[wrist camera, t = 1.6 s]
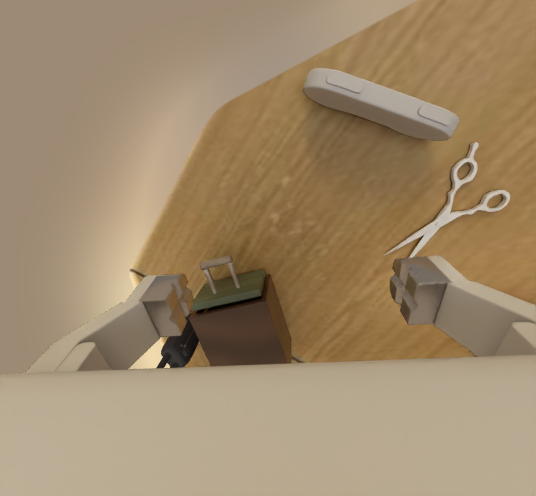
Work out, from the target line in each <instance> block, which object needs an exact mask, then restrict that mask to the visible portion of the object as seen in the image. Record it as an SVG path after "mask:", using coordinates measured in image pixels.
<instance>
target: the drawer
mask: <svg viewBox="0 0 536 496" xmlns="http://www.w3.org/2000/svg"><path fill="white" fill-rule="evenodd" d="M232 262H233V258H232V256H231V255H227V256H223V257H220V258H216V259H212V260H208V261H204V262H201V263H200V268H201V269H202V270H204V272H205V274H206V277H207V279H208V281H209V282H208V283H205V284H204V286H203V287H202V289H201V290H200V292H199V293H198V295H197V296H196V297H195V299H194V300H193V308H192V310H193V311H196V310H200V309H205V310H204V312H208V311H212V310H217V309H221V308H226V307H230V306H235V305H239V304H244V303H248V302H253V301H257V300H262V295H263V290H264V285H265V284H264V281H265V276H266V274H265V271H264V269H262V270H258V271H254V272H250V273H245V274H241V275H237V274H236V272H235V269H234V266H233V264H232ZM224 264H228V266H229V269H230V272H231V274H232V277H229V278H225V279H221V280H217V281H213V278H212V276H211V273H210V271H209V269H208V268H212V267H216V266H220V265H224Z"/></svg>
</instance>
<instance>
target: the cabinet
mask: <svg viewBox="0 0 536 496" xmlns="http://www.w3.org/2000/svg"><path fill="white" fill-rule="evenodd" d="M264 284H265V285H264V290H263V295H262V300H257V301H253V302H248V303H244V304H239V305H235V306H230V307H226V308H221V309H217V310H212V311H208V312H204V310H205V309H200V310H196V311H193V312H192V314H191V315H190V317H189V320H190V322H191V324H192V326H193V328H194V330H195V333H196V335H197V337H198V339H199V341H200V343H201V346H202V348H203V350H204V352H205V354H206V356H207V358H208V361H209V363H210V365H211V366H234V365H261V364H289V363H291V337H290V334H289V331H288V328H287V325H286V321H285V318H284V315H283V312H282V309H281V306H280V303H279V300H278V297H277V294H276V291H275V287H274V284H273V281H272V278H271V275H266V276H265V281H264Z"/></svg>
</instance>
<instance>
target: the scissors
mask: <svg viewBox="0 0 536 496" xmlns="http://www.w3.org/2000/svg"><path fill="white" fill-rule="evenodd" d="M478 145H479V143H477V142H475V143H472V144H471V145H470V149H469V152H468V154H467V157H466V158H465V159H462V160H460V161H458V162H457V163H456V164H455V165H454V167H453V168H452V170H451V180H452V182H453V184H452V189H451V190H450V191H449V192H448V194H447V195H448V201H447V204H446V205H445V206H444V208H443V209H442V210H441V211H440V213H439V214H438V216H437V217H436V219H435V220H434V221H433V222H431V223H430V224H428V225H427V226H425V227H423V228H422V229H420V230H419V231H417V232H416V233H414V234H413V235H411V236H410V237H408V238H407V239H406V240H404V241H403V242H402V243H400V244H399V245H397V246H396V247H394V248H393V249H391V250H390V251H389V252H388V253H390V252H392V251H394V250H396V249H398V248H400V247H402V246H404V245H406V244H407V243H409V242H411V241H413V240H415V239H417V238H419V237H421V236H423V235H424V234H425V235H424V237H423V238H422V239H421V241H420V242H419V244H418V245H417V246H416V248H415V249H414V251H413V252H412V254H411V255H410V257H409V258H413V257H414V255H415V254H416V253H417V252H418V251H419V250H420V249H421V248H422V247H423V246H424V245H425V244H426V243H427V242H428V240H429V239H430V238H431V237H432V236H433V235H434V234H435V233H436V231H437V230H438V229H439V228H440V227H441V226H443V225H445V224H447V223H448V222H450V221H452V220H453V219H455V218H457V217H459V216H461V215H463V214H472V213H474V212H475V211H477V210H484V211H488V212H492V211H497V210H500V209H502V208H503V207H504V206H506V204H507V203H508V202H509V199H510V194H509V193H508V192H507V191H503V190H494V191H491V192H488V193H487V194H485V195H483V198H482V200H481V202H480V204H479V205H476V206H475V207H473V208H472V209H469V210H464V211H453V212H451V207H452V202H453V197H454V194H455V192H456V190H457V189H458V188H459V187H460V186H461V185H462V184H463V183H466V182H469V181H472V179H473V178H474V176H475V175H476V171H477V163H476V161H475V160H474V159H473V157H474V153H475V150H476V149H477V147H478ZM465 162H468V163H469V164H470V165H471V170H470V172H469V174H468V175H467V176H466V177H465V178H464V179H461V180H459V179H458V177H457V171H458V169H459V168H460V167H461V166H462V165H463V164H464V163H465ZM497 194H501V195H502V196H503V200H502V202H501V203H500V204H499V205H498V206H497V207H495V208H488V207H487V202H488V200H489V199H490V198H492V197H493V196H495V195H497ZM388 253H386V254H388ZM386 254H385V255H386Z"/></svg>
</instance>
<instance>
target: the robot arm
mask: <svg viewBox="0 0 536 496" xmlns="http://www.w3.org/2000/svg"><path fill="white" fill-rule="evenodd" d="M392 269H393V270H394V272H395V274H394V275H393V276H392V277H391V278H390V292H391V295H392V298H393V300H394V301H395V302H396V303H397V304H399V305H401V309H400V312H401V313H402V315H403V317H404V318H405V320H406V322H407V323H408V325H416V324H434V326H436V327H437V328H438V329H440V330H441V331H443V332H444V333H446V334H447V335H448V336H450V337H451V338H453V339H454V340H455V341H457V342H458V343H460V344H461V345H462V346H464V347H465V348H467V349H468V350H469V351H471V352H472V353H474V354H475V355H476V356H478V357H455V358H427V359H400V360H372V361H345V362H317V363H289V364H261V365H234V366H208V367H182V368H154V369H128V368H130V367H131V366H132V365H133V364H134V363H135V362H136V361H137V360H138V359H139V358H140V357H141V356H142V355H143V354H144V353H145V352H146V351H147V350H148V349H149V348H150V347H151V346H152V345H153V344H154V343H156V341H158V340H159V339H160V337H169V336H181V335H182V333H183V330H184V328H185V325H186V323H187V321H186V318H185V317H187V316H188V315H189V314H190V313H191V311H192V308H193V295H192V292H191V290H190V289H188V288H187V287H186V285H187V283H188V280H187V278H186V275H184V274H165V275H149V276H146V277H144V278H143V280H142V281H141V282H140V283H139V285H138V286H137V287H136V289H135V290H134V291H133V293H132V294H131V295H130V296H129V298H128V299H127V301H126V302H125V303H120V304H118V305H116V306H115V307H113V308H111V309H109V310H108V311H106V312H104V313H103V314H101V315H99V316H98V317H96V318H94V319H93V320H91V321H89V322H87V323H86V324H84V325H83V326H81V327H79V328H78V329H76V330H74V331H72V332H71V333H69V334H67V335H65V336H64V337H62V338H60V339H59V340H57V341H56V342H54V343H52V344H51V346H50V347H49V348H48V349H47V350H46V351H45V352H44V353H43V354H42V355H41V356H40V357H39V358H38V359H37V360H36V362H35V363H34V364H33V365H32V366H31V367H30V368H29V369H28V370H27V371H26V372H25V373H17V374H0V496H536V305H534V304H531V303H529V302H526V301H523V300H521V299H518V298H516V297H513V296H511V295H508V294H506V293H503V292H500V291H498V290H495V289H493V288H490V287H488V286H485V285H483V284H480V283H477V282H475V281H470V282H469V281H468V280H467V279H466V278H465V277H464V276H463V275H462V274H461V273H460V272H458V271H457V270H456V269H455V268H454V267H453V266H452V265H451V264H450V263H449V262H448V261H447V260H445V259H444V258H443V257H442V256H440V255H433V256H424V257H415V258H403V259H395V261H394V262H393V267H392Z"/></svg>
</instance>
